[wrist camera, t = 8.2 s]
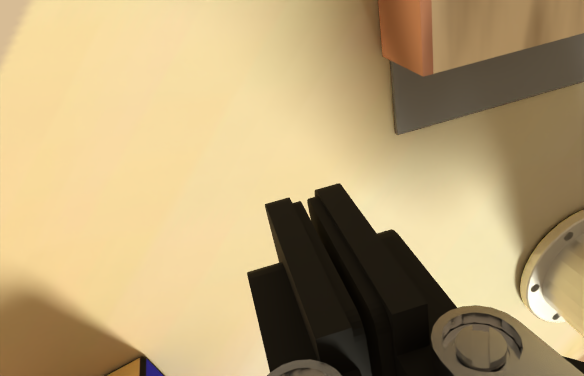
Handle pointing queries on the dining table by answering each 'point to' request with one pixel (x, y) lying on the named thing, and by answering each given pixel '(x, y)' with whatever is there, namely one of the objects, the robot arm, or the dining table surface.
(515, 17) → the oak block
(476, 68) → the mat
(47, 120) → the dining table surface
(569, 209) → the dining table surface
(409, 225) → the dining table surface
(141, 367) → the puzzle cube
